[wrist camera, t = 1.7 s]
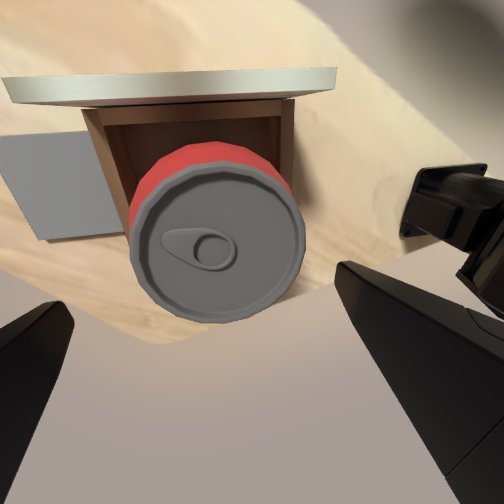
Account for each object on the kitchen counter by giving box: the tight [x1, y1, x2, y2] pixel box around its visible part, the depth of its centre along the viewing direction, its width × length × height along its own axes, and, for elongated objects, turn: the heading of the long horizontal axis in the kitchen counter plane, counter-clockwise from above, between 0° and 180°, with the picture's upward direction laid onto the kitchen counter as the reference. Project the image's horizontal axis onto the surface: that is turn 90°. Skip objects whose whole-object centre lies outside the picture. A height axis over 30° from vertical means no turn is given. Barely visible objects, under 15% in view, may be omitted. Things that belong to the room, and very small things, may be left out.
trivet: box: [0, 131, 124, 240], centre depth 17 cm, size 6×7×1 cm
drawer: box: [1, 67, 337, 246], centre depth 15 cm, size 12×12×8 cm
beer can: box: [129, 141, 306, 323], centre depth 13 cm, size 7×7×12 cm
